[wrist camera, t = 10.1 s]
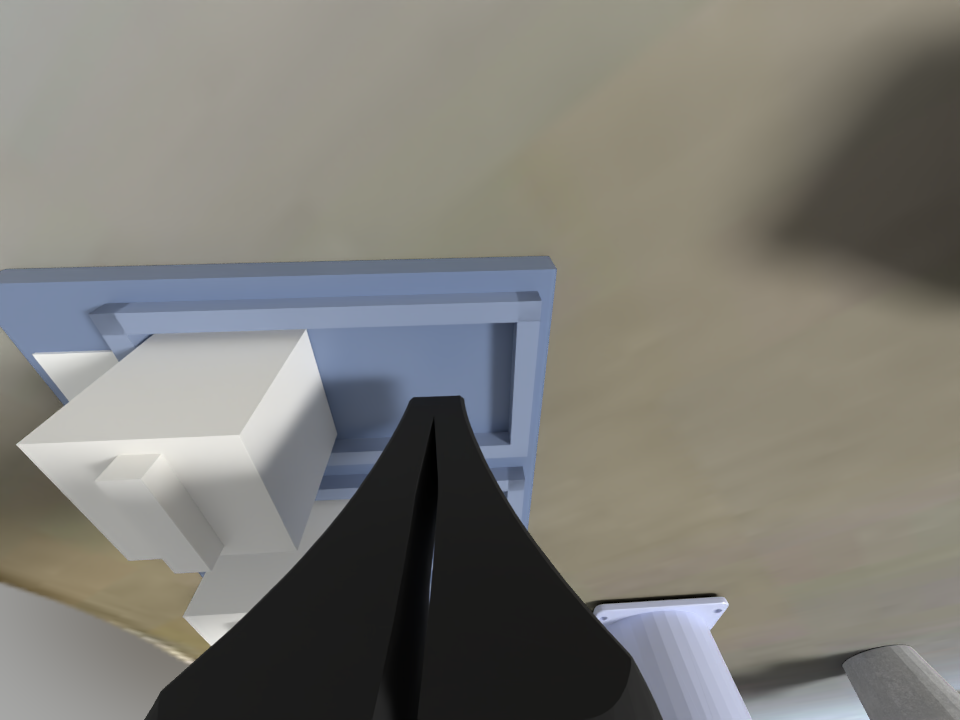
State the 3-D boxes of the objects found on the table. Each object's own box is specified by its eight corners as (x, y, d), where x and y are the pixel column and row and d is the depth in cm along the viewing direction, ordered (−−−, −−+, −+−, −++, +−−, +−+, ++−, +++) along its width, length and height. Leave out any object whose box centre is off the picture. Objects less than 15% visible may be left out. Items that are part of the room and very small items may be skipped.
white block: (371, 549, 17) (347, 683, 13) (277, 555, 17) (225, 691, 13) (354, 491, 15) (319, 631, 11) (245, 496, 14) (170, 640, 11)
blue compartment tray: (514, 605, 23) (518, 636, 21) (261, 621, 22) (249, 655, 21) (549, 255, 11) (562, 278, 10) (5, 269, 10) (-61, 294, 9)
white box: (337, 434, 13) (289, 576, 9) (212, 439, 13) (110, 586, 9) (306, 328, 11) (223, 459, 7) (154, 333, 10) (-17, 470, 7)
